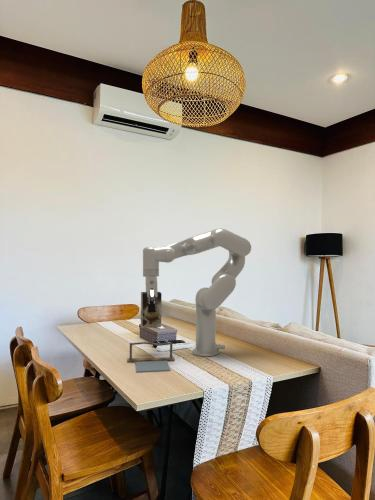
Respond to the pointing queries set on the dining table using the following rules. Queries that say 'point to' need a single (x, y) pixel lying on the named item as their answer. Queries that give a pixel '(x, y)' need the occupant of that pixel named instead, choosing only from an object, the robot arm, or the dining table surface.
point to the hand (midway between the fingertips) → (151, 310)
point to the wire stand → (133, 360)
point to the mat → (152, 366)
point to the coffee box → (150, 318)
